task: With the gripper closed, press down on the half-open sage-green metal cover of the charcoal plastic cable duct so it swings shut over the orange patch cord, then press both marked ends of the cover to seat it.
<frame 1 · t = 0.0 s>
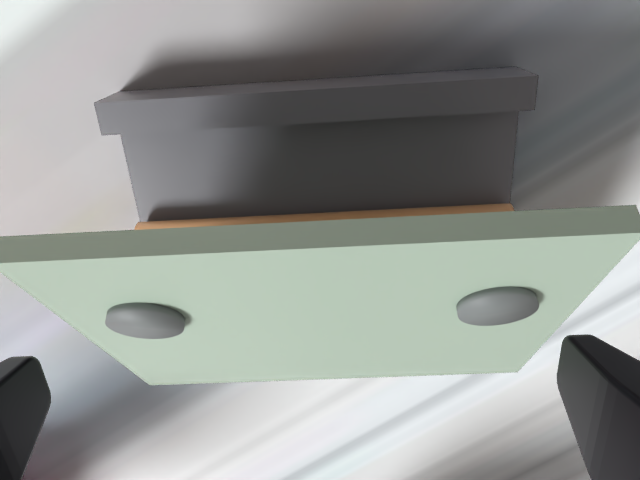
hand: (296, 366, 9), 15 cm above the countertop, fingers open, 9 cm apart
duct: (323, 217, 24), on the countertop
duct cover: (322, 325, 18), point 6 cm above the countertop, hinge at 35.0°
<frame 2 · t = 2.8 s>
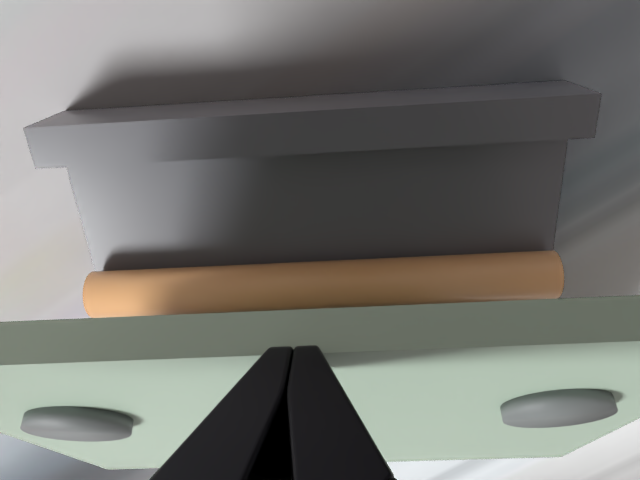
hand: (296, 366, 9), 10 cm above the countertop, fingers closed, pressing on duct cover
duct: (320, 263, 19), on the countertop
duct cover: (318, 419, 14), point 6 cm above the countertop, hinge at 34.3°, touching gripper
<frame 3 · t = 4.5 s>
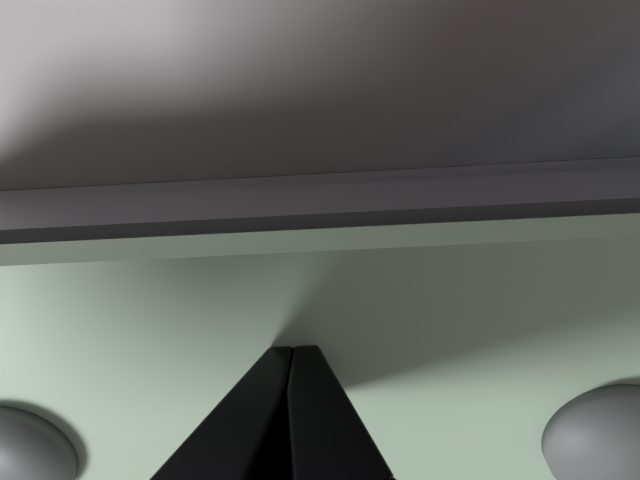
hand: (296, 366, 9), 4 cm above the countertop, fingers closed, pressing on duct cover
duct: (317, 393, 14), on the countertop
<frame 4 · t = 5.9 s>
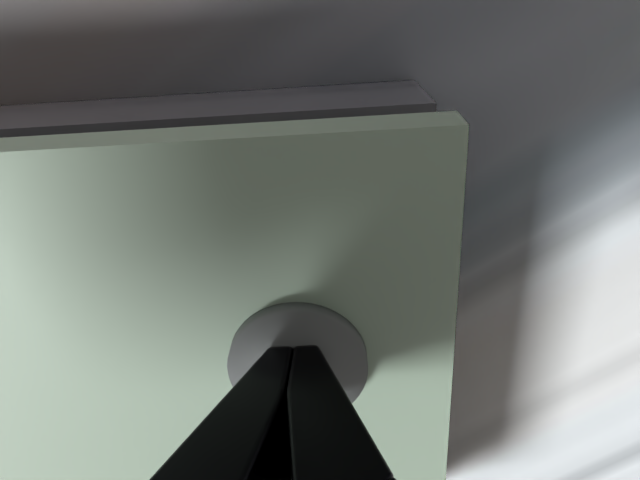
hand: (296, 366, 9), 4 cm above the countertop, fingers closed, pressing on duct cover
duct: (102, 337, 14), on the countertop
duct cover: (36, 438, 11), point 3 cm above the countertop, hinge at 2.5°, touching gripper
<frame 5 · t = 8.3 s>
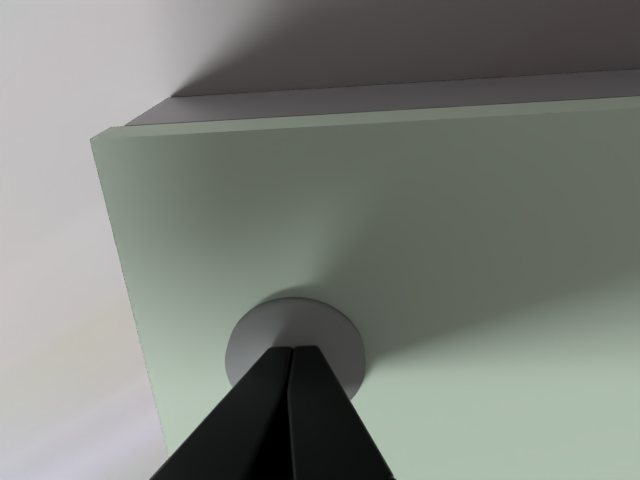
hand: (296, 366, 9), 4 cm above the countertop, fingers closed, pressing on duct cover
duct: (535, 328, 13), on the countertop
duct cover: (593, 422, 10), point 3 cm above the countertop, hinge at -0.2°, touching gripper
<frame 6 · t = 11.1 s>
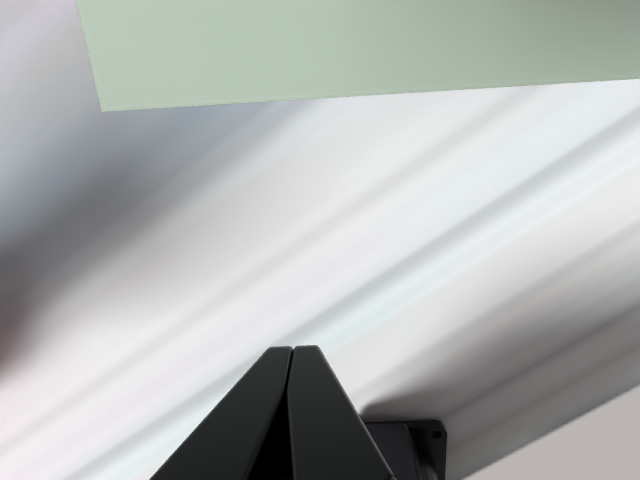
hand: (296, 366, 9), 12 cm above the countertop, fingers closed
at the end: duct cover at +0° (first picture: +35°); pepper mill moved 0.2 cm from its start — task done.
